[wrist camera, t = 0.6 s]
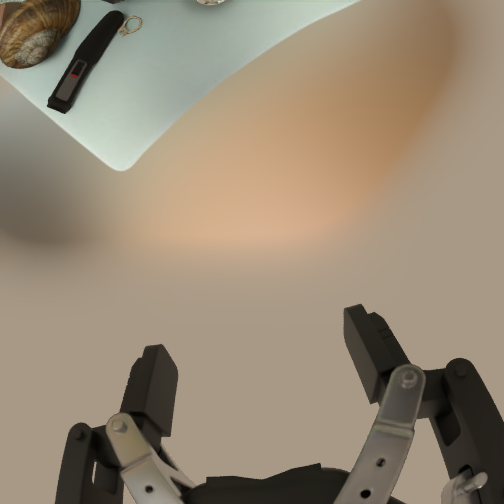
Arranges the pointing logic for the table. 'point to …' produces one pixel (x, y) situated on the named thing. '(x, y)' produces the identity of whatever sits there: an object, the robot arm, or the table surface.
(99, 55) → the electric trimmer
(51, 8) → the seashell
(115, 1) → the box
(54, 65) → the table surface
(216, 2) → the wineglass
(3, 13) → the wooden block
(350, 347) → the robot arm
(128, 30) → the ring
